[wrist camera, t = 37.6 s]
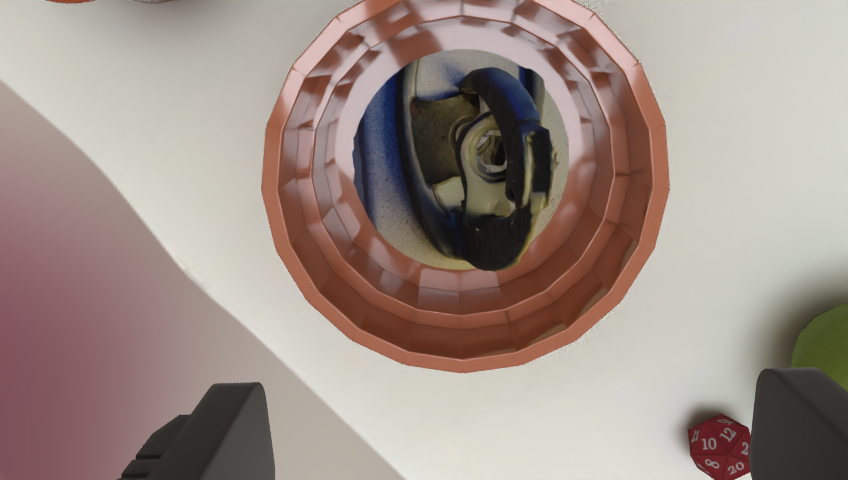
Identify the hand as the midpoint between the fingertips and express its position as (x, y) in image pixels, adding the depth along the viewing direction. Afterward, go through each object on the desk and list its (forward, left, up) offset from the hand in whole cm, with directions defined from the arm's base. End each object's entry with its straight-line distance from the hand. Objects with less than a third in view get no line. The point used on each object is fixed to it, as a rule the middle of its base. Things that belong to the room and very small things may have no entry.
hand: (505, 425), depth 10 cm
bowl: (0, 0, -28) cm, 28 cm away
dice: (+22, -8, -28) cm, 37 cm away
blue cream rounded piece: (+1, -1, -28) cm, 28 cm away
